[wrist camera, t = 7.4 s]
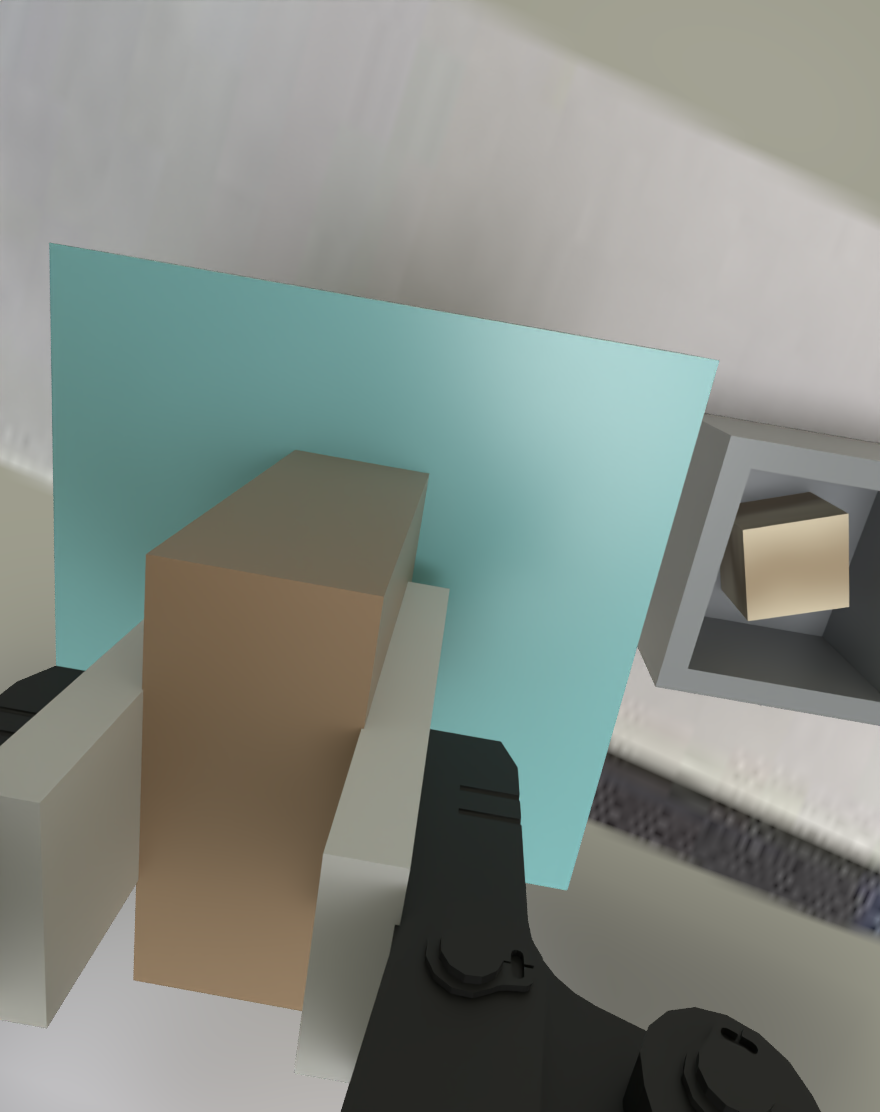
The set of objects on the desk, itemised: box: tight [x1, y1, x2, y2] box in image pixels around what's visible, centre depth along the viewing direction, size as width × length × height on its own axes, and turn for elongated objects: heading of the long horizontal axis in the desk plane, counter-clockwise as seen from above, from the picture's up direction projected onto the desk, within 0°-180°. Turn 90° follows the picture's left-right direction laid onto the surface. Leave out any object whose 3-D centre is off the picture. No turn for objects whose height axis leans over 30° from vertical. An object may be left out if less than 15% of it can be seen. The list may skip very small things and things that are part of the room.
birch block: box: [720, 492, 849, 621], centre depth 30 cm, size 4×4×4 cm
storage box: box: [637, 413, 880, 726], centre depth 29 cm, size 10×10×7 cm
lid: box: [49, 243, 719, 1011], centre depth 12 cm, size 12×12×8 cm
